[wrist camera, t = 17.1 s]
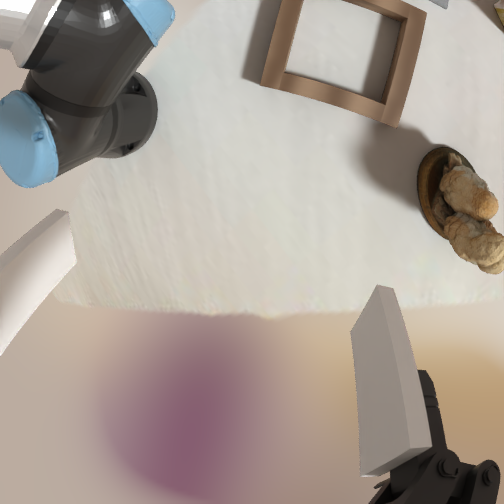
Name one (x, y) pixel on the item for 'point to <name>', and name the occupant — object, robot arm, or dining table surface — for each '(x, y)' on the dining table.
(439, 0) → the rubber mat
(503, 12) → the juice carton
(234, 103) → the dining table surface
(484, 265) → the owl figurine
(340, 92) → the square wooden frame
